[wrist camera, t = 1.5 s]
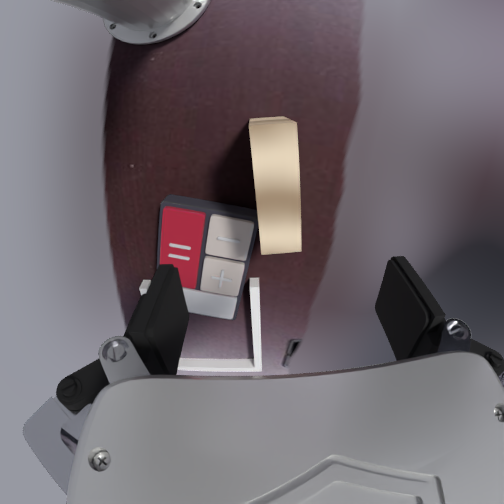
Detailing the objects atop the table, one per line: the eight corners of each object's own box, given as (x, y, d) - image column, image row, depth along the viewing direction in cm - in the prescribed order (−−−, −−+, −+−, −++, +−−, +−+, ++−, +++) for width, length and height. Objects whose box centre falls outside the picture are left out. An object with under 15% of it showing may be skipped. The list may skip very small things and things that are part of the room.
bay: (143, 279, 37) (139, 288, 35) (258, 277, 36) (259, 287, 35) (173, 360, 47) (171, 369, 45) (261, 362, 46) (261, 371, 45)
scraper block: (249, 118, 26) (248, 125, 18) (283, 116, 26) (296, 122, 18) (259, 213, 32) (261, 254, 24) (289, 211, 31) (301, 251, 24)
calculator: (260, 220, 28) (235, 325, 35) (259, 207, 32) (236, 304, 39) (158, 202, 27) (154, 310, 34) (169, 191, 31) (162, 291, 38)
